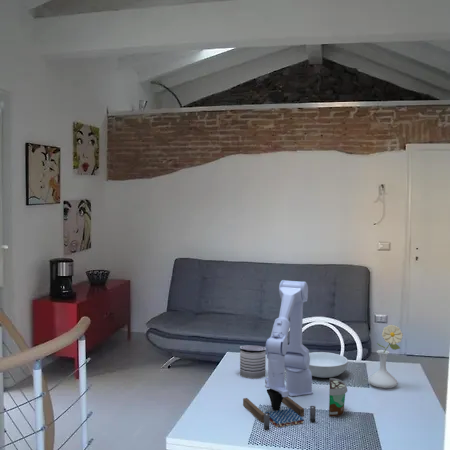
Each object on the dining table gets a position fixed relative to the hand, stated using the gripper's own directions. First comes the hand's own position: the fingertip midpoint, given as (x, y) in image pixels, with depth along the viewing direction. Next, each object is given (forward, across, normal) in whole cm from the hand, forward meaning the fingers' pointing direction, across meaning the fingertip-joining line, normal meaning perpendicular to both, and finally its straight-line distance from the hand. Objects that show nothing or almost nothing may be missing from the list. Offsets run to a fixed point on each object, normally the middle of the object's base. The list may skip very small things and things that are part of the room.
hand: (276, 410), depth 184 cm
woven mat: (+2, +6, 0) cm, 6 cm away
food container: (+1, +6, +21) cm, 22 cm away
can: (+1, -41, +9) cm, 42 cm away
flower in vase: (+1, -10, +53) cm, 54 cm away
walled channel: (+1, -3, 0) cm, 3 cm away
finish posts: (+1, +10, 0) cm, 10 cm away
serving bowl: (+1, -31, +37) cm, 48 cm away
